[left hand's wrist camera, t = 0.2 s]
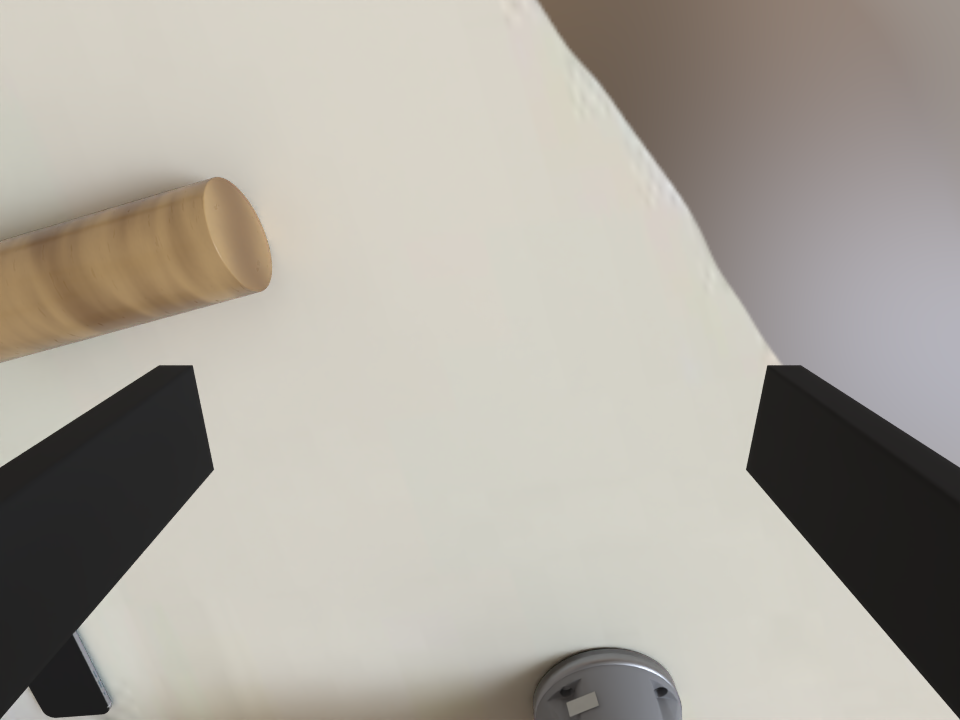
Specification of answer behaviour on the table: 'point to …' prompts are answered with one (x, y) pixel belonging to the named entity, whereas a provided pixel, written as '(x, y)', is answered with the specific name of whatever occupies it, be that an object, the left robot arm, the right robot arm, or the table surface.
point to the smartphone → (70, 684)
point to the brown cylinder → (130, 266)
